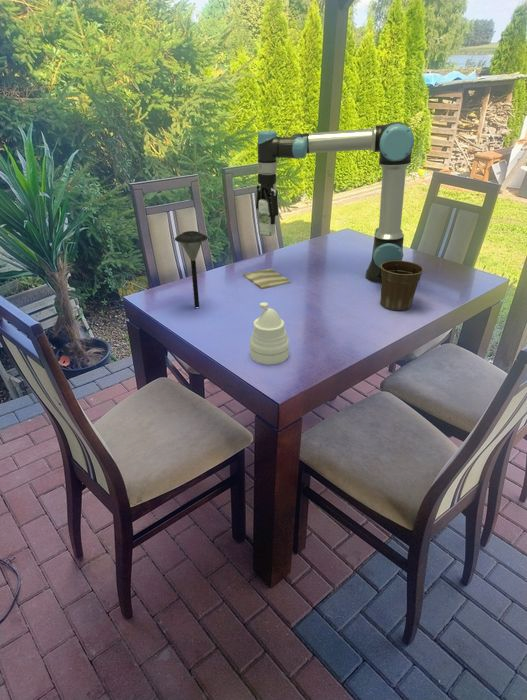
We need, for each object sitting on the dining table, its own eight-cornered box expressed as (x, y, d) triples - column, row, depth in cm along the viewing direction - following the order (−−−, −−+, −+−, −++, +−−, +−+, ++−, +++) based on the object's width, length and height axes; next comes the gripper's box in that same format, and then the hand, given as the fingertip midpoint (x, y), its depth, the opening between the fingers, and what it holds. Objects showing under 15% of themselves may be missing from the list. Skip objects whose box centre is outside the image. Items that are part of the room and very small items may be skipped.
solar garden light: (205, 316, 172) (199, 239, 156) (176, 312, 175) (167, 236, 159) (217, 303, 182) (212, 230, 166) (189, 299, 185) (183, 227, 169)
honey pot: (244, 360, 144) (242, 310, 135) (258, 341, 155) (258, 294, 145) (281, 367, 140) (282, 317, 131) (293, 348, 151) (295, 300, 142)
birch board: (290, 282, 200) (290, 280, 200) (261, 289, 194) (261, 287, 194) (270, 270, 214) (270, 268, 213) (243, 275, 208) (243, 273, 207)
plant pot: (384, 293, 190) (390, 257, 182) (421, 302, 182) (429, 265, 174) (368, 306, 179) (373, 268, 171) (407, 317, 171) (415, 277, 163)
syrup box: (275, 232, 195) (275, 198, 187) (270, 236, 190) (271, 201, 183) (262, 231, 196) (262, 197, 189) (258, 235, 192) (258, 200, 184)
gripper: (247, 170, 187) (248, 224, 198) (271, 178, 171) (271, 236, 183) (262, 168, 190) (262, 222, 201) (288, 176, 174) (286, 233, 186)
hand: (266, 228), depth 192 cm, fingers closed on syrup box, 8 cm apart
